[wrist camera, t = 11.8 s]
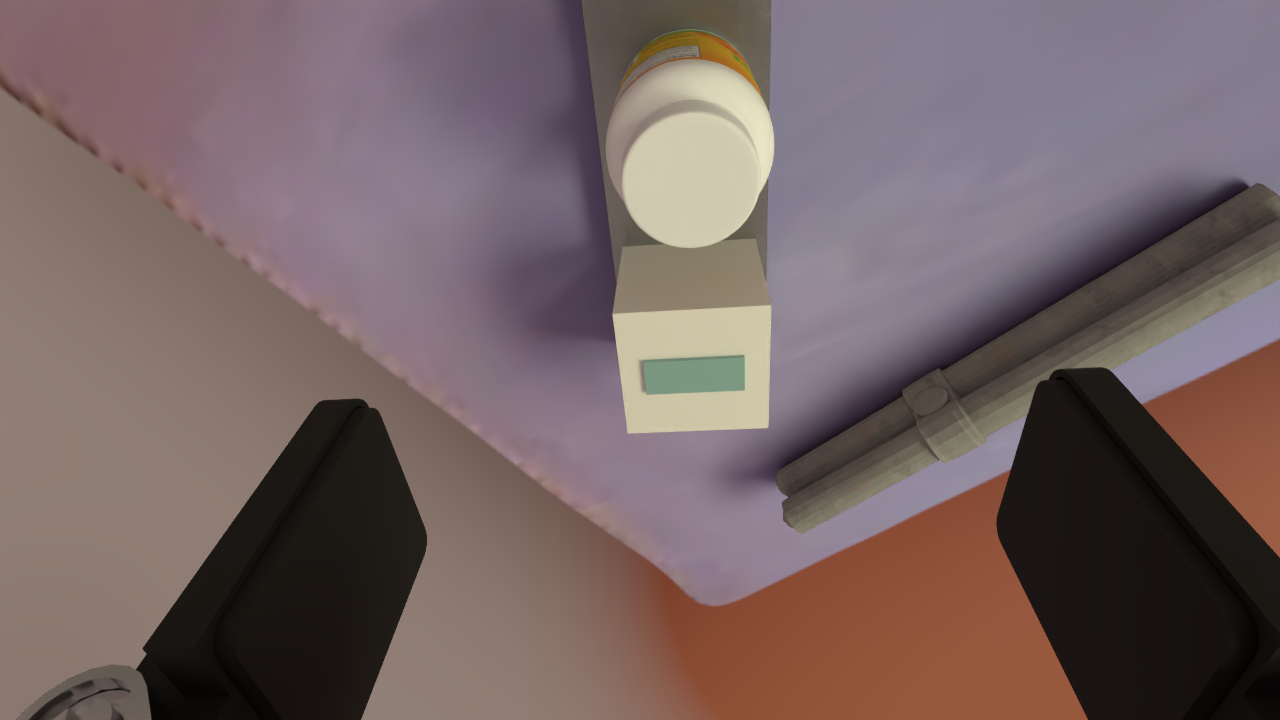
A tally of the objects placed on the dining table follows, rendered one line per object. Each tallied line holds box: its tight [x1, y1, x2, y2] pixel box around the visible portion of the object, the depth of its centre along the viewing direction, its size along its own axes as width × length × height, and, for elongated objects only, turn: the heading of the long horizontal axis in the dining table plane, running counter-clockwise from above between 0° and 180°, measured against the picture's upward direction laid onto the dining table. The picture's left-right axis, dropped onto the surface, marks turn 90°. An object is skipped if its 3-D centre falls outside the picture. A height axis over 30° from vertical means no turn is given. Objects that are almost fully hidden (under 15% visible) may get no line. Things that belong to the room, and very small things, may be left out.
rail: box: [581, 0, 771, 287], centre depth 28 cm, size 7×24×1 cm, turn 5°
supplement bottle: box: [606, 29, 774, 248], centre depth 23 cm, size 5×5×10 cm
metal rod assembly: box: [777, 183, 1280, 533], centre depth 33 cm, size 26×3×5 cm, turn 133°
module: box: [612, 238, 771, 433], centre depth 30 cm, size 6×6×6 cm
